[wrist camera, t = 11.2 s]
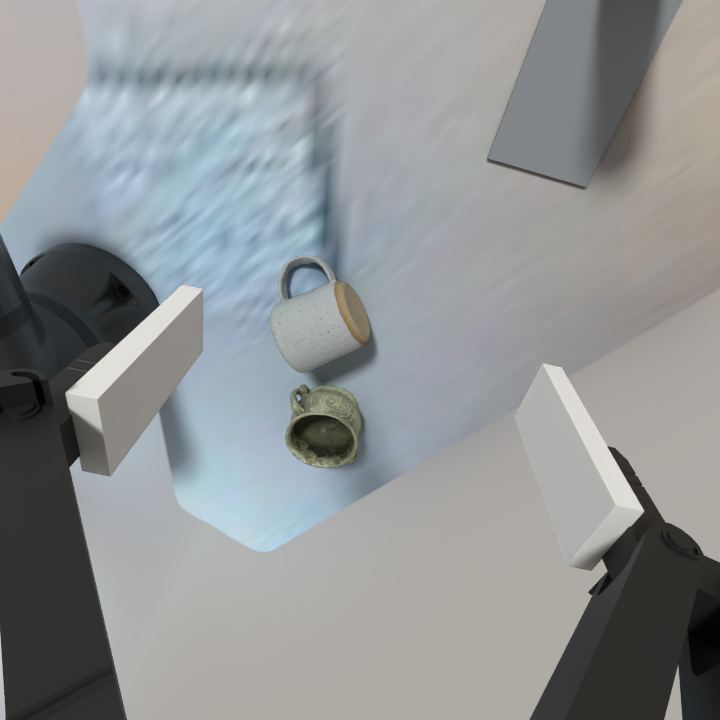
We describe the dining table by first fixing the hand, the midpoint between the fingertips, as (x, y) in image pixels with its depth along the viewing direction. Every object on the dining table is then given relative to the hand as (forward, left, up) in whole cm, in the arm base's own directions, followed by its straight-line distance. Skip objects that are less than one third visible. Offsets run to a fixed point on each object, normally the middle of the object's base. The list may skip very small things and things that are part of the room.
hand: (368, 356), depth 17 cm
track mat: (+11, +15, -28) cm, 34 cm away
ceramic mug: (-5, -12, -28) cm, 31 cm away
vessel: (-1, -27, -28) cm, 39 cm away
